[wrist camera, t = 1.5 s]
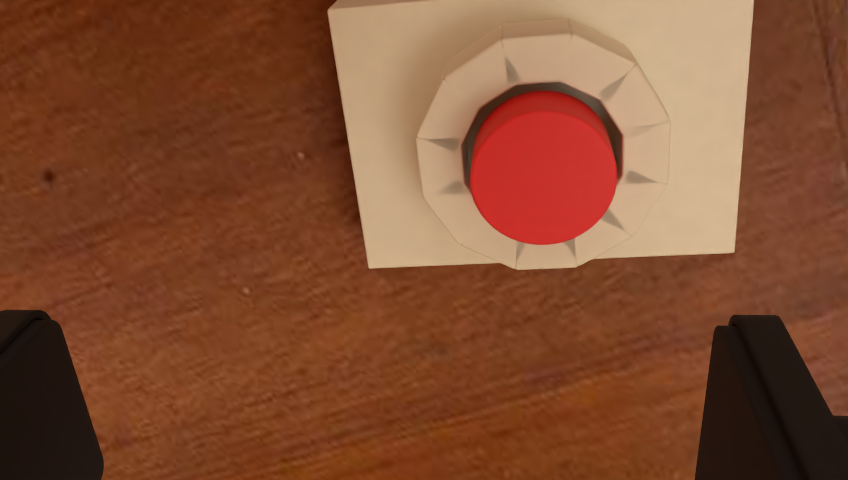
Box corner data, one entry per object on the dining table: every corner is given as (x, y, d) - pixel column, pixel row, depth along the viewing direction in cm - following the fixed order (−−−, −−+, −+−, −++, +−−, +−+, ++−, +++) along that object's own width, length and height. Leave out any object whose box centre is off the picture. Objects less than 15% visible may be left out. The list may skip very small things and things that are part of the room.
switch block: (735, -43, 22) (778, -18, 18) (718, 220, 25) (750, 284, 22) (342, -6, 23) (310, 24, 20) (379, 237, 27) (357, 299, 23)
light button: (610, 84, 20) (617, 105, 18) (610, 213, 22) (617, 243, 20) (467, 94, 20) (463, 116, 19) (478, 219, 22) (475, 249, 20)
